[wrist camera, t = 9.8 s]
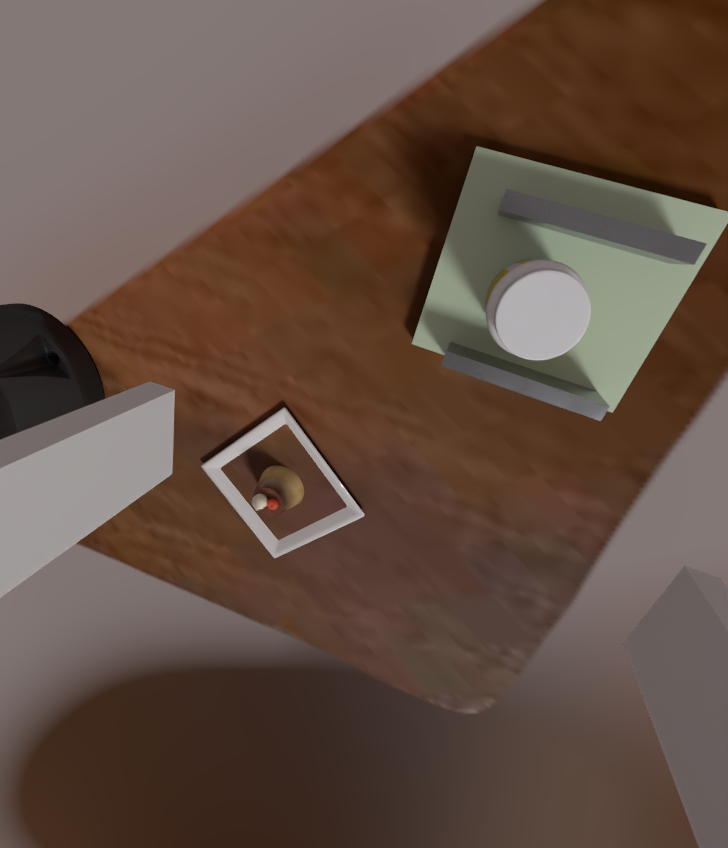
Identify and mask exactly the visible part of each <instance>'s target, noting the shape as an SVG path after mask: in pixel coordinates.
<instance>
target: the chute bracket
mask: <svg viewBox="0 0 728 848" xmlns="http://www.w3.org/2000/svg"><path fill="white" fill-rule="evenodd" d="M498 215H500V216H503V217H507V218H510V219H514V220H517V221H521V222H524V223H528V224H531V225H535V226H538V227H542V228H546V229H549V230H553V231H556V232H560V233H563V234H567V235H570V236H574V237H577V238H581V239H584V240H588V241H591V242H595V243H598V244H602V245H605V246H609V247H612V248H616V249H619V250H623V251H626V252H630V253H633V254H637V255H640V256H644V257H648V258H651V259H655V260H658V261H662V262H665V263H669V264H684V265H695V263H696V261H697V260H698V258H699V256H700V255H701V253H702V251H703V250H704V248H705V246H706V245H707V243H703V242H699V241H696V240H692V239H688V238H685V237H681V236H677V235H674V234H670V233H666V232H663V231H659V230H655V229H652V228H648V227H645V226H641V225H637V224H634V223H630V222H626V221H623V220H619V219H615V218H612V217H608V216H604V215H601V214H597V213H593V212H590V211H586V210H582V209H579V208H575V207H572V206H568V205H564V204H561V203H557V202H553V201H550V200H546V199H542V198H539V197H535V196H531V195H528V194H524V193H520V192H517V191H513V190H509V189H506V191H505V194H504V197H503V199H502V202H501V205H500V208H499V211H498ZM441 366H443V367H446V368H449V369H452V370H455V371H457V372H460V373H463V374H466V375H469V376H472V377H475V378H478V379H481V380H483V381H486V382H489V383H492V384H495V385H498V386H501V387H504V388H507V389H509V390H512V391H515V392H518V393H521V394H524V395H527V396H530V397H532V398H535V399H538V400H541V401H544V402H547V403H550V404H553V405H556V406H558V407H561V408H564V409H567V410H570V411H573V412H576V413H579V414H582V415H584V416H587V417H590V418H593V419H596V420H599V421H601V420H602V418H603V417H604V415H605V413H606V412H607V410H608V408H609V407H610V406H609V405H608V404H607V402H606V401H605V400H604V399H603V398H602V396H601V395H600V394H599V393H598V391H595V390H592V389H589V388H586V387H583V386H580V385H578V384H575V383H572V382H569V381H566V380H563V379H560V378H557V377H554V376H551V375H548V374H545V373H542V372H539V371H536V370H533V369H530V368H527V367H524V366H521V365H518V364H515V363H512V362H509V361H506V360H503V359H500V358H497V357H494V356H491V355H488V354H485V353H482V352H479V351H476V350H473V349H470V348H467V347H465V346H462V345H459V344H456V343H453V342H450V344H449V346H448V348H447V351H446V353H445V356H444V359H443V361H442V364H441Z"/></svg>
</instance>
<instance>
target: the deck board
mask: <svg viewBox="0 0 728 848" xmlns="http://www.w3.org/2000/svg"><path fill="white" fill-rule="evenodd" d="M506 189H509V190H513V191H517V192H520V193H524V194H528V195H531V196H535V197H539V198H542V199H546V200H550V201H553V202H557V203H561V204H564V205H568V206H572V207H575V208H579V209H582V210H586V211H590V212H593V213H597V214H601V215H604V216H608V217H612V218H615V219H619V220H623V221H626V222H630V223H634V224H637V225H641V226H645V227H648V228H652V229H655V230H659V231H663V232H666V233H670V234H674V235H677V236H681V237H685V238H688V239H692V240H696V241H699V242H703V243H707V245H706V246H705V248H704V250H703V251H702V253H701V255H700V256H699V258H698V260H697V261H696V263H695V265H684V264H669V263H665V262H662V261H658V260H655V259H651V258H648V257H644V256H640V255H637V254H633V253H630V252H626V251H623V250H619V249H616V248H612V247H609V246H605V245H602V244H598V243H595V242H591V241H588V240H584V239H581V238H577V237H574V236H570V235H567V234H563V233H560V232H556V231H553V230H549V229H546V228H542V227H538V226H535V225H531V224H528V223H524V222H521V221H517V220H514V219H510V218H507V217H503V216H500V215H498V211H499V208H500V205H501V202H502V199H503V197H504V194H505V191H506ZM727 223H728V212H727V211H723V210H719V209H715V208H712V207H708V206H704V205H700V204H696V203H692V202H689V201H685V200H681V199H677V198H673V197H669V196H666V195H662V194H658V193H654V192H650V191H646V190H643V189H639V188H635V187H631V186H627V185H623V184H620V183H616V182H612V181H608V180H604V179H601V178H597V177H593V176H589V175H585V174H581V173H578V172H574V171H570V170H566V169H562V168H558V167H555V166H551V165H547V164H543V163H539V162H535V161H532V160H528V159H524V158H520V157H516V156H513V155H509V154H505V153H501V152H497V151H493V150H490V149H486V148H482V147H478V146H476V149H475V152H474V155H473V158H472V161H471V164H470V167H469V170H468V173H467V176H466V180H465V183H464V186H463V189H462V192H461V195H460V198H459V201H458V204H457V207H456V210H455V213H454V216H453V219H452V222H451V225H450V228H449V231H448V234H447V238H446V241H445V244H444V247H443V250H442V253H441V256H440V259H439V262H438V265H437V268H436V271H435V274H434V277H433V280H432V283H431V286H430V289H429V292H428V296H427V299H426V302H425V305H424V308H423V311H422V314H421V317H420V320H419V323H418V326H417V329H416V332H415V335H414V338H413V341H412V344H414V345H416V346H419V347H422V348H425V349H428V350H431V351H434V352H437V353H440V354H443V355H445V353H446V351H447V348H448V346H449V344H450V342H453V343H456V344H459V345H462V346H465V347H467V348H470V349H473V350H476V351H479V352H482V353H485V354H488V355H491V356H494V357H497V358H500V359H503V360H506V361H509V362H512V363H515V364H518V365H521V366H524V367H527V368H530V369H533V370H536V371H539V372H542V373H545V374H548V375H551V376H554V377H557V378H560V379H563V380H566V381H569V382H572V383H575V384H578V385H580V386H583V387H586V388H589V389H592V390H595V391H598V393H599V394H600V395H601V396H602V398H603V399H604V400H605V401H606V402H607V404H608V405H609V406H610V407H609V408H608V410H607V411H609V412H612V413H613V411H614V409H615V408H616V406H617V404H618V403H619V401H620V400H621V398H622V396H623V395H624V393H625V391H626V390H627V388H628V386H629V385H630V383H631V381H632V380H633V378H634V376H635V375H636V373H637V372H638V370H639V368H640V367H641V365H642V363H643V362H644V360H645V358H646V357H647V355H648V353H649V352H650V350H651V348H652V347H653V345H654V344H655V342H656V340H657V339H658V337H659V335H660V334H661V332H662V330H663V329H664V327H665V325H666V324H667V322H668V320H669V319H670V317H671V316H672V314H673V312H674V311H675V309H676V307H677V306H678V304H679V302H680V301H681V299H682V297H683V296H684V294H685V292H686V291H687V289H688V288H689V286H690V284H691V283H692V281H693V279H694V278H695V276H696V274H697V273H698V271H699V269H700V268H701V266H702V264H703V263H704V261H705V260H706V258H707V256H708V255H709V253H710V251H711V250H712V248H713V246H714V245H715V243H716V241H717V240H718V238H719V236H720V235H721V233H722V232H723V230H724V228H725V227H726V225H727ZM528 259H542V260H553V261H557V262H561V263H563V264H565V265H567V266H569V267H570V268H572V269H573V270H574V271H575V272H576V273H577V274H578V275H579V276H580V277H581V279H582V280H583V282H584V284H585V286H586V289H587V292H588V296H589V299H590V304H591V315H590V321H589V324H588V327H587V329H586V331H585V333H584V335H583V336H582V337H581V339H580V340H579V341H578V343H577V344H576V345H575V346H573V347H572V348H571V349H570V350H568V351H567V352H565V353H563V354H561V355H560V356H557V357H554V358H551V359H547V360H528V359H524V358H521V357H518V356H516V355H514V354H511V353H509V352H507V351H506V350H504V349H503V348H502V347H500V346H499V345H498V344H497V343H496V342H495V340H494V339H493V338H492V336H491V334H490V332H489V329H488V327H487V322H486V296H487V292H488V289H489V287H490V285H491V283H492V281H493V280H494V279H495V277H496V276H497V275H498V274H499V273H500V272H501V271H502V270H504V269H505V268H506V267H508V266H509V265H511V264H513V263H516V262H518V261H522V260H528Z"/></svg>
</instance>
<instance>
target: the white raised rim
mask: <svg viewBox="0 0 728 848" xmlns="http://www.w3.org/2000/svg"><path fill="white" fill-rule="evenodd" d="M284 424H287V425H288V426H289V427H290V429H291V430H292V432H293V433H294V434H295V436H296V437H297V438H298V440H299V441H300V442H301V444H302V445H303V446H304V448H305V449H306V450H307V452H308V453H309V455H310V456H311V457H312V459H313V460H314V461H315V463H316V464H317V465H318V467H319V468H320V469H321V471H322V472H323V474H324V475H325V476H326V478H327V479H328V480H329V482H330V483H331V484H332V486H333V487H334V488H335V490H336V491H337V492H338V494H339V495H340V497H341V498H342V499H343V501H344V502H345V503H346V505H347V507H346V508H344V509H342V510H340V511H338V512H336V513H334V514H332V515H330V516H327V517H325V518H323V519H321V520H319V521H317V522H315V523H313V524H311V525H309V526H307V527H305V528H303V529H301V530H299V531H297V532H295V533H293V534H291V535H289V536H287V537H285V538H283V539H281V540H277V539H276V537H275V536H274V535H273V534H272V532H271V531H270V530H269V529H268V528H267V526H266V525H265V524H264V523H263V521H262V520H261V519H260V518H259V516H258V515H257V514H256V513H255V511H254V510H253V509H252V508H251V506H250V505H249V504H248V503H247V501H246V500H245V499H244V498H243V496H242V495H241V494H240V493H239V491H238V490H237V489H236V488H235V486H234V485H233V484H232V483H231V481H230V480H229V479H228V478H227V477H226V475H225V474H224V473H223V472H222V470H221V467H222V466H224V465H225V464H227V463H228V462H230V461H231V460H233V459H234V458H236V457H237V456H238V455H240V454H241V453H243V452H244V451H246V450H247V449H249V448H250V447H252V446H253V445H255V444H256V443H258V442H259V441H261V440H262V439H263V438H265V437H266V436H268V435H269V434H271V433H272V432H274V431H275V430H277V429H278V428H280V427H281V426H283V425H284ZM201 467H202V469H203V470H204V471H205V472H206V474H207V475H208V476H209V477H210V479H211V480H212V481H213V482H214V484H215V485H216V486H217V487H218V489H219V490H220V491H221V492H222V494H223V495H224V496H225V497H226V499H227V500H228V501H229V502H230V504H231V505H232V506H233V507H234V509H235V510H236V511H237V512H238V514H239V515H240V516H241V517H242V519H243V520H244V521H245V522H246V524H247V525H248V526H249V527H250V529H251V530H252V531H253V532H254V534H255V535H256V536H257V537H258V539H259V540H260V541H261V542H262V544H263V545H264V546H265V547H266V549H267V550H268V551H269V552H270V554H271V555H272V556H273V557H274V558H277V557H279V556H281V555H283V554H285V553H287V552H290V551H292V550H294V549H296V548H298V547H300V546H302V545H304V544H307V543H309V542H311V541H313V540H315V539H317V538H319V537H321V536H323V535H326V534H328V533H330V532H332V531H334V530H336V529H338V528H340V527H343V526H345V525H347V524H349V523H351V522H353V521H355V520H357V519H360V518H362V517H364V513H363V512H362V510H361V509H360V508H359V506H358V505H357V504H356V502H355V501H354V500H353V498H352V497H351V496H350V494H349V493H348V492H347V490H346V489H345V487H344V486H343V485H342V483H341V482H340V481H339V479H338V478H337V477H336V475H335V474H334V473H333V471H332V470H331V468H330V467H329V466H328V464H327V463H326V462H325V460H324V459H323V458H322V456H321V455H320V454H319V452H318V451H317V450H316V448H315V447H314V445H313V444H312V443H311V441H310V440H309V439H308V437H307V436H306V435H305V433H304V432H303V431H302V429H301V428H300V426H299V425H298V424H297V422H296V421H295V420H294V418H293V417H292V416H291V414H290V413H289V412H288V410H287V409H286V408H285V407H283V408H282V409H281V410H279V411H278V412H276V413H275V414H273V415H272V416H271V417H269V418H268V419H266V420H265V421H263V422H262V423H261V424H259V425H258V426H256V427H255V428H254V429H252V430H251V431H249V432H248V433H246V434H245V435H244V436H242V437H241V438H239V439H238V440H236V441H235V442H234V443H232V444H231V445H229V446H228V447H226V448H225V449H224V450H222V451H221V452H219V453H218V454H216V455H215V456H214V457H212V458H211V459H209V460H208V461H206V462H205V463H204V464H202V465H201ZM303 495H304V488H303V484H302V482H301V480H300V478H299V477H298V476H297V475H296V474H295V473H294V472H293V471H292V470H290V469H288V468H286V467H283V466H278V465H276V466H270V467H268V468H267V469H265V470H264V471H263V473H262V475H261V478H260V480H259V482H258V484H257V486H256V489H255V491H254V493H253V499H252V505H253V507H254V508H255V509H256V510H259V511H260V512H261V513H262V514H264V515H267V516H271V517H273V516H277V515H279V514H281V513H283V512H285V511H287V510H288V509H290V508H292V507H294V506H296V505H297V504H299V503H300V502H301V500H302V498H303Z"/></svg>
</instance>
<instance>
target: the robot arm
mask: <svg viewBox="0 0 728 848" xmlns="http://www.w3.org/2000/svg"><path fill="white" fill-rule="evenodd" d="M174 400H175V390H173V389H171V388H168V387H165V386H162V385H159V384H156V383H153V382H147V383H145V384H142V385H140V386H137V387H134V388H132V389H129V390H127V391H124V392H122V393H119V394H116V395H114V396H111V397H109V398H106V399H104V392H103V387H102V384H101V380H100V377H99V375H98V372H97V370H96V367H95V365H94V363H93V361H92V359H91V358H90V356H89V354H88V353H87V351H86V349H85V348H84V347H83V345H82V344H81V343H80V341H79V340H78V339H77V338H76V336H75V335H74V334H73V333H72V332H71V331H70V330H69V329H68V328H67V327H66V326H65V325H64V324H63V323H62V322H60V321H59V320H58V319H57V318H55V317H54V316H52V315H51V314H49V313H47V312H45V311H44V310H42V309H39V308H37V307H34V306H31V305H27V304H7V305H0V598H1V597H2V596H3V595H5V594H6V593H8V592H9V591H10V590H12V589H13V588H14V587H16V586H17V585H19V584H20V583H21V582H23V581H24V580H26V579H27V578H28V577H30V576H31V575H33V574H34V573H35V572H37V571H38V570H39V569H41V568H42V567H43V566H45V565H46V564H48V563H49V562H51V561H52V560H53V559H54V558H56V557H57V556H59V555H60V554H62V553H63V552H64V551H66V550H67V549H68V548H70V547H71V546H73V545H74V544H76V543H77V542H78V541H80V540H81V539H83V538H84V537H85V536H87V535H88V534H89V533H91V532H92V531H94V530H95V529H96V528H98V527H99V526H101V525H102V524H103V523H105V522H106V521H107V520H109V519H110V518H112V517H113V516H114V515H116V514H117V513H119V512H120V511H121V510H123V509H124V508H126V507H127V506H128V505H130V504H131V503H132V502H134V501H135V500H137V499H138V498H139V497H141V496H142V495H144V494H145V493H146V492H148V491H149V490H150V489H152V488H153V487H155V486H156V485H157V484H159V483H160V482H162V481H163V480H164V479H166V478H167V477H169V476H170V475H171V474H172V467H173V433H174ZM623 646H624V649H625V651H626V654H627V657H628V659H629V662H630V665H631V667H632V670H633V673H634V675H635V678H636V681H637V683H638V686H639V689H640V691H641V694H642V697H643V699H644V702H645V705H646V707H647V710H648V712H649V715H650V718H651V721H652V723H653V726H654V729H655V731H656V734H657V737H658V739H659V742H660V745H661V747H662V750H663V752H664V755H665V758H666V761H667V763H668V766H669V768H670V771H671V774H672V777H673V779H674V782H675V785H676V787H677V790H678V793H679V795H680V798H681V800H682V803H683V806H684V809H685V811H686V814H687V817H688V819H689V822H690V825H691V827H692V830H693V833H694V835H695V838H696V841H697V843H698V846H699V848H728V588H727V587H726V585H725V584H724V582H723V581H722V580H721V579H720V578H718V577H715V576H712V575H709V574H706V573H704V572H701V571H698V570H695V569H692V568H689V567H686V566H684V567H683V569H682V570H681V571H680V573H679V574H678V575H677V576H676V577H675V579H674V580H673V581H672V582H671V584H670V585H669V586H668V587H667V589H666V590H665V591H664V592H663V594H662V595H661V596H660V597H659V599H658V600H657V601H656V602H655V604H654V605H653V606H652V607H651V609H650V610H649V611H648V612H647V614H646V615H645V616H644V617H643V619H642V620H641V621H640V622H639V624H638V625H637V626H636V627H635V628H634V630H633V631H632V632H631V634H630V635H629V636H628V637H627V638H626V640H625V641H624V642H623Z"/></svg>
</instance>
